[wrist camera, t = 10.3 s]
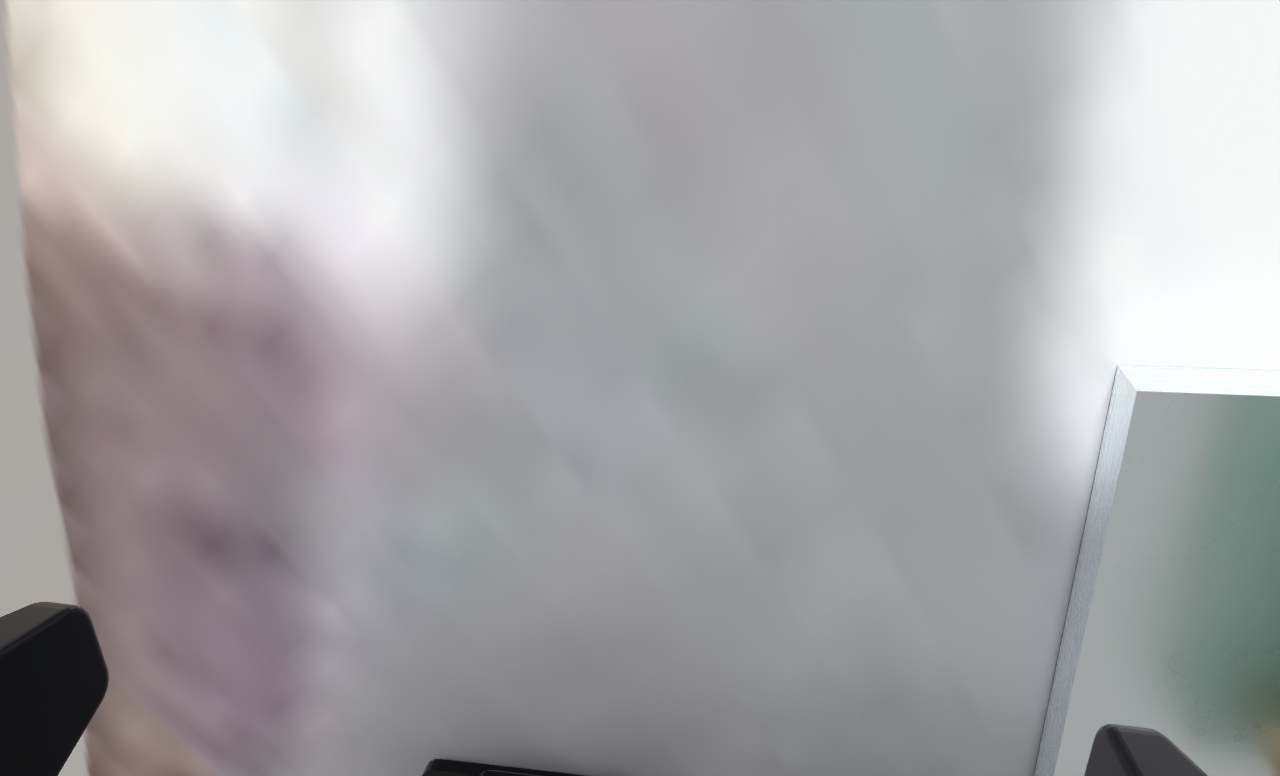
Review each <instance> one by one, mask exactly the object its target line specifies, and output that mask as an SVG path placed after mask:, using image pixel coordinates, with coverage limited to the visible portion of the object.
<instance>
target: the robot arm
mask: <svg viewBox="0 0 1280 776" xmlns="http://www.w3.org/2000/svg"><path fill="white" fill-rule="evenodd" d="M108 681H109V673H108V668H107V665H106V662H105V659H104V656H103V653H102V650H101V647H100V644H99V641H98V638H97V635H96V632H95V629H94V626H93V623H92V620H91V618H90V616H89V614H88V613H87V612H86V611H85V610H84V609H83V608H81V607H79V606H76V605H69V604H60V603H52V602H39V603H34V604H31V605H29V606H26V607H24V608H22V609H19V610H17V611H14V612H12V613H10V614H7V615H5V616H2V617H1V618H0V776H58V774H59V772H60V771H61V769H62V767H63V765H64V764H65V762H66V761H67V759H68V757H69V756H70V754H71V752H72V750H73V749H74V747H75V745H76V744H77V742H78V741H79V739H80V737H81V736H82V734H83V732H84V730H85V729H86V727H87V725H88V724H89V722H90V720H91V719H92V717H93V715H94V714H95V712H96V710H97V709H98V707H99V705H100V704H101V702H102V700H103V698H104V696H105V693H106V690H107V687H108ZM422 776H582V775H574V774H565V773H556V772H548V771H539V770H530V769H521V768H513V767H504V766H495V765H487V764H478V763H469V762H461V761H452V760H443V759H435V760H433V761H430V762H429V764H428V765H427V767H426V769H425V771H424V773H423V775H422ZM1084 776H1208V775H1207V774H1206V773H1205V772H1203V771H1202V770H1201V769H1200V768H1199V767H1198V766H1197V765H1196V764H1195V763H1194V762H1193V761H1192V760H1191V759H1190V758H1189V757H1187V756H1186V755H1185V754H1184V753H1183V752H1182V751H1181V750H1180V749H1179V748H1178V747H1177V746H1176V745H1175V744H1174V743H1172V742H1171V741H1170V740H1169V739H1168V738H1167V737H1166V736H1164V735H1163V734H1162V733H1160V732H1158V731H1157V730H1154V729H1150V728H1143V727H1134V726H1125V725H1117V724H1107V725H1104V726H1102V727H1100V729H1099V730H1098V731H1097V733H1096V735H1095V738H1094V741H1093V745H1092V748H1091V752H1090V755H1089V759H1088V763H1087V766H1086V770H1085V774H1084Z"/></svg>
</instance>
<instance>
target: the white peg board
mask: <svg viewBox="0 0 1280 776" xmlns="http://www.w3.org/2000/svg"><path fill="white" fill-rule="evenodd" d="M1107 724H1117V725H1125V726H1134V727H1143V728H1150V729H1154V730H1157V731H1158V732H1160V733H1162V734H1163V735H1164V736H1166V737H1167V738H1168V739H1169V740H1170V741H1171V742H1172V743H1174V744H1175V745H1176V746H1177V747H1178V748H1179V749H1180V750H1181V751H1182V752H1183V753H1184V754H1185V755H1186V756H1187V757H1189V758H1190V759H1191V760H1192V761H1193V762H1194V763H1195V764H1196V765H1197V766H1198V767H1199V768H1200V769H1201V770H1202V771H1203V772H1205V773H1206V774H1207V775H1208V776H1280V371H1271V370H1242V369H1213V368H1183V367H1154V366H1125V365H1118V366H1117V371H1116V376H1115V381H1114V386H1113V391H1112V396H1111V401H1110V406H1109V410H1108V415H1107V420H1106V425H1105V430H1104V435H1103V440H1102V445H1101V450H1100V455H1099V459H1098V464H1097V469H1096V474H1095V479H1094V484H1093V489H1092V494H1091V499H1090V504H1089V508H1088V513H1087V518H1086V523H1085V528H1084V533H1083V538H1082V543H1081V548H1080V553H1079V557H1078V562H1077V567H1076V572H1075V577H1074V582H1073V587H1072V592H1071V597H1070V602H1069V607H1068V611H1067V616H1066V621H1065V626H1064V631H1063V636H1062V641H1061V646H1060V651H1059V656H1058V660H1057V665H1056V670H1055V675H1054V680H1053V685H1052V690H1051V695H1050V700H1049V705H1048V709H1047V714H1046V719H1045V724H1044V729H1043V734H1042V739H1041V744H1040V749H1039V754H1038V758H1037V763H1036V768H1035V773H1034V776H1084V774H1085V770H1086V766H1087V763H1088V759H1089V755H1090V752H1091V748H1092V745H1093V741H1094V738H1095V735H1096V733H1097V731H1098V730H1099V729H1100V727H1102V726H1104V725H1107Z"/></svg>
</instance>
